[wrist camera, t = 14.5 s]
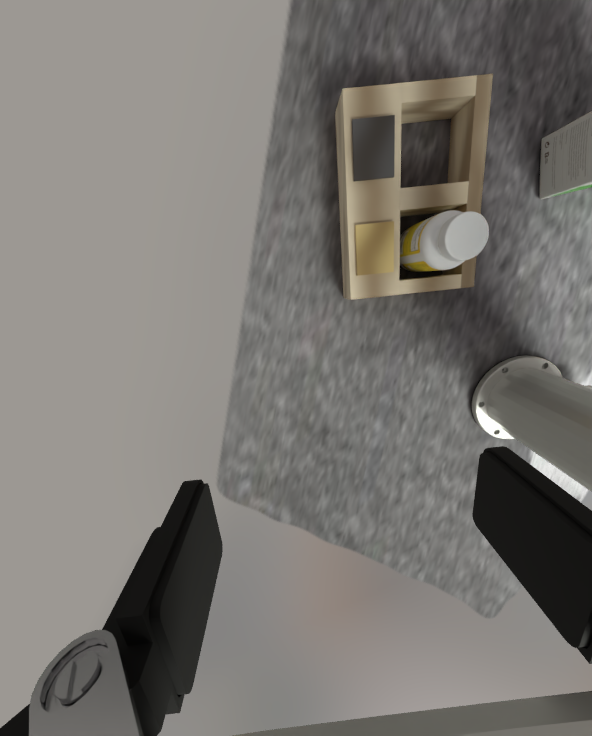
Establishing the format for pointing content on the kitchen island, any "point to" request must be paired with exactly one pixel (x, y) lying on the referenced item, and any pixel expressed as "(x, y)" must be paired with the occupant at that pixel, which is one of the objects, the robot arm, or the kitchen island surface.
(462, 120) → the socket block
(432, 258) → the supplement bottle
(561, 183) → the skincare box
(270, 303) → the kitchen island surface
